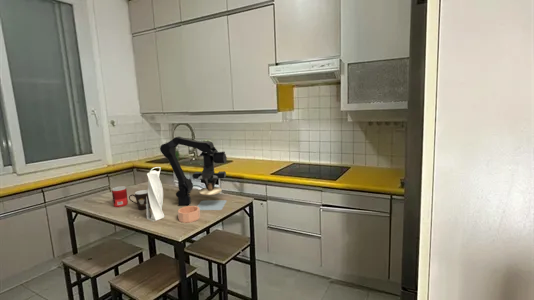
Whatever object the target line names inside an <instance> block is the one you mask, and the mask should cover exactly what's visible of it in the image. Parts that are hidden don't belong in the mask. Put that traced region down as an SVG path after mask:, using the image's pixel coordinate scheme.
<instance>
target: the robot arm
mask: <svg viewBox="0 0 534 300" xmlns="http://www.w3.org/2000/svg"><path fill="white" fill-rule="evenodd" d="M179 145H181V146H185V147H190V148H195V149H197V150H198V151H200V152H201V153H200V154H199V157H202V160H203V167H202V171H195V172H194V173H193V174H192V179H193V180H194V179H196V180H197V179H199V180H201V181H202V183H204V186H205V188H207V189H208V185H207V184H208V183H209V181H208V180H209V179H212V180H211V181H212V182H211V183H212V188H213V189H214V187H216V186H215V185H216V182H217V180H218V179H225V178H226V176H227V173H226V171H218V172H215V164H226V163H227V159H228V158H227V154H226V152H225V151H218V149H217V148H216V147H215V145H214V143H213V142H212V141H207V140H203V141H202V140H201V141H200V140H194V139H189V138H186V137H182V136H175V137H174V138H173V139H171V140H170V141H168V142H166V143H163V144H161V145H160V148H159V150H160V153H161V154H162V155H163V156H164V157H165V158H166V159H167V161H168V162H169V165H170V167H171V169H172V171H173V172H174V175H175V177H176V178H177V186H178V191H176V193H175V195H176V197H177V202H178V203H177V204H178V205H177V207H186V206H190V205H191V203H192V197H191V196H190V195H191V192H192V190H193V188H194V182H192V179H191V178H188V177H186V175H185V173H184V171H183V167H181V164H180V163H179V160H178V157H177V155H176V147H178V146H179ZM214 163H215V164H214ZM211 177H212V178H211Z"/></svg>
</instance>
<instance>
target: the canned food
mask: <svg viewBox="0 0 534 300" xmlns="http://www.w3.org/2000/svg"><path fill="white" fill-rule="evenodd" d="M127 190H128V189H127V186H123V185H122V186H115V187H113V188H111V194H112V202H113V206H114V208H121V207H125V206H127V205H128V204H129V201H128V200H129V198H128V192H127Z"/></svg>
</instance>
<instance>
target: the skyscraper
mask: <svg viewBox="0 0 534 300" xmlns="http://www.w3.org/2000/svg"><path fill="white" fill-rule="evenodd" d="M161 168H162V167H160V166H155V167H153V168H151V169H150V171H149V172H147V173H146V176H147V178H148V179H147V180H148V181H147V190H148V197H149V202H150V208H149V204H148V200H146V203H147V204H146V210H145V211H146V218H145V219H146V220H148V221H150V222H152V223H153V222H156V221H159V220H162V219H163V218H165V214H164V212H163V202H164V201H163V200H164V189H163V185H162V181H161V180H160V178H161V177H160V173H161V170H162V169H161ZM154 169H159V170H158V171H157V170H154ZM146 199H147V197H146ZM150 209H151V212H150Z"/></svg>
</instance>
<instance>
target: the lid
mask: <svg viewBox="0 0 534 300" xmlns="http://www.w3.org/2000/svg"><path fill="white" fill-rule="evenodd" d="M212 183H213V182H208V184H207V185H208V189H207V188H206V187H203V188H201V189H199V190H198V191H199V192H198V193H199V195H202V196H213V195H218V194H220V193H221V192H222V187H219V186H214V189H213V188H212Z"/></svg>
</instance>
